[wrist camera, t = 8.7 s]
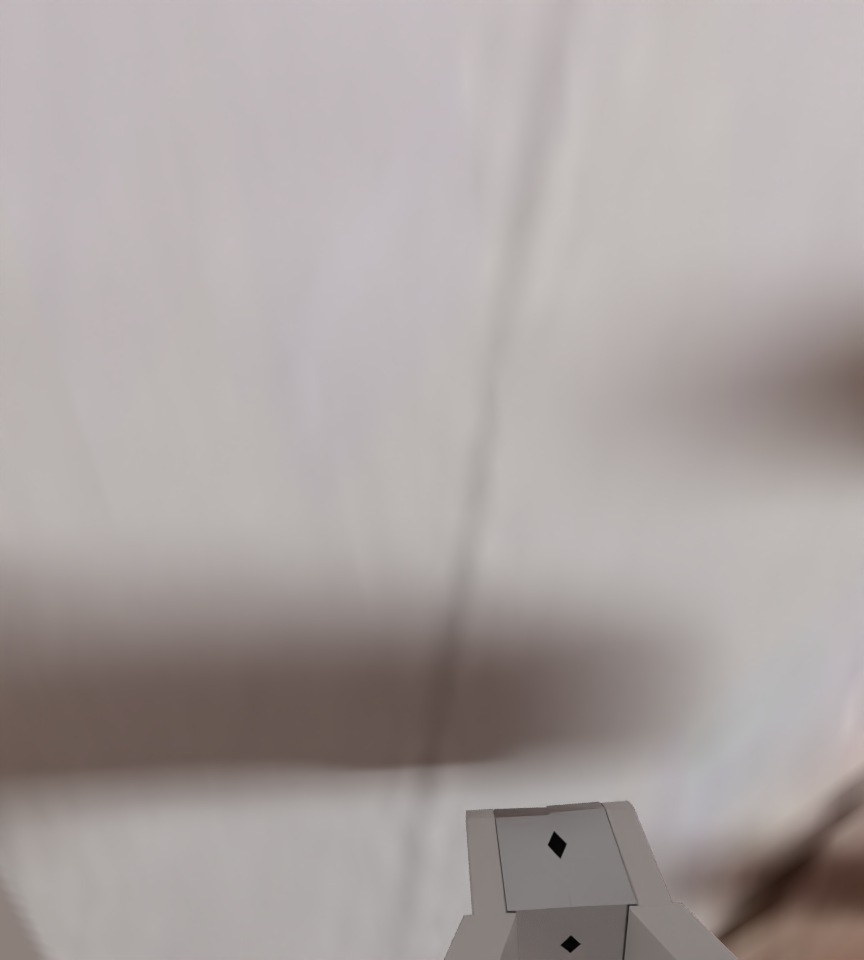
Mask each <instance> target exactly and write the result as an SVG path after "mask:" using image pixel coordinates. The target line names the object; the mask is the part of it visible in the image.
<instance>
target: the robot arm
mask: <svg viewBox="0 0 864 960" xmlns="http://www.w3.org/2000/svg"><path fill="white" fill-rule="evenodd" d="M466 831H467V845H468V860H469V874H470V889H471V903H472V915H464V916H463V918H462V920H461V923H460V925H459V927H458V929H457V932H456V934H455V936H454V938H453V940H452V943H451V945H450V947H449V949H448V952H447V954H446V956H445V958H444V960H739V959H738V958H737V957H736V956H735V955H734V954H733V953H732V952H731V951H729V950H728V949H727V948H726V947H725V946H724V945H723V944H722V943H721V942H720V941H719V940H718V939H717V938H716V937H715V936H714V935H713V934H712V933H711V932H710V931H709V930H708V929H707V928H706V927H705V926H704V925H703V924H702V923H701V922H700V921H699V920H698V919H697V918H696V917H695V916H694V915H693V914H692V913H691V912H690V911H689V910H688V909H687V908H686V907H685V906H684V905H683V904H682V903H672V900H671V898H670V895H669V893H668V890H667V888H666V885H665V883H664V880H663V878H662V875H661V873H660V870H659V868H658V865H657V863H656V861H655V858H654V856H653V853H652V851H651V848H650V846H649V843H648V841H647V838H646V836H645V833H644V831H643V828H642V826H641V823H640V821H639V819H638V816H637V814H636V811H635V809H634V807H633V806H632V804H631V803H630V802H629V801H617V802H605V803H600V802H590V803H578V804H565V805H552V806H546V807H534V808H510V809H494V810H493V809H483V810H467V811H466Z"/></svg>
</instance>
